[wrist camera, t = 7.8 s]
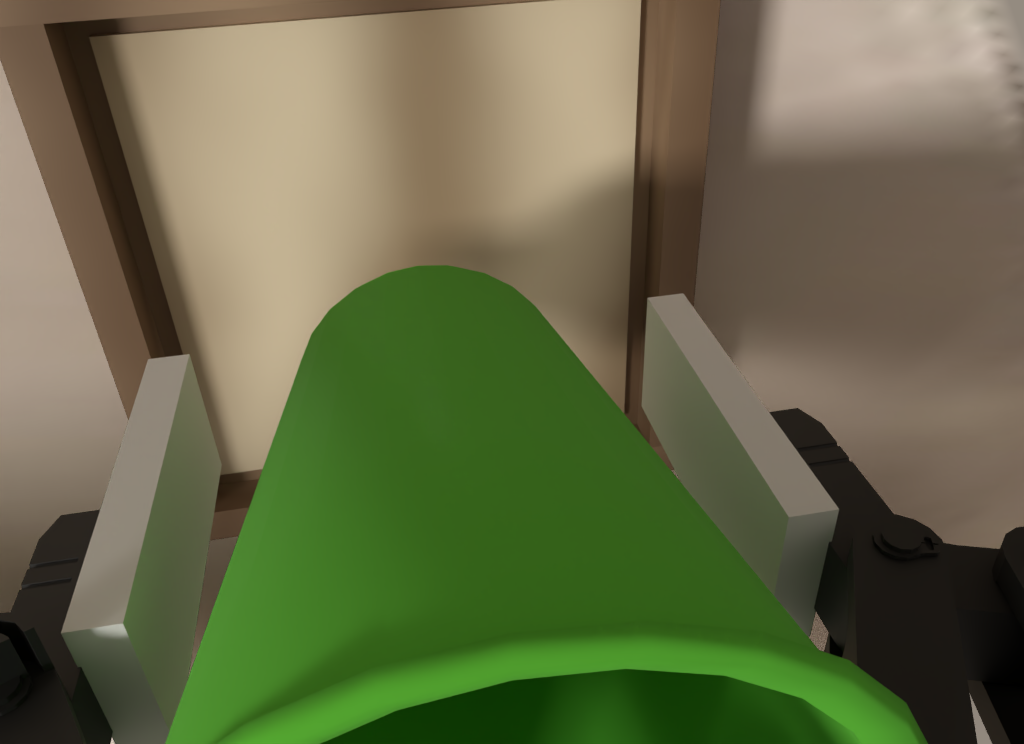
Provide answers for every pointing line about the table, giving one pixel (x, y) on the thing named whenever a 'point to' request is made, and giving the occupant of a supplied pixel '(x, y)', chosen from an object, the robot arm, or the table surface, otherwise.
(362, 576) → the cup
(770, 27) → the table surface
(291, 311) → the tray
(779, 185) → the table surface
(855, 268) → the table surface
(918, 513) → the table surface
